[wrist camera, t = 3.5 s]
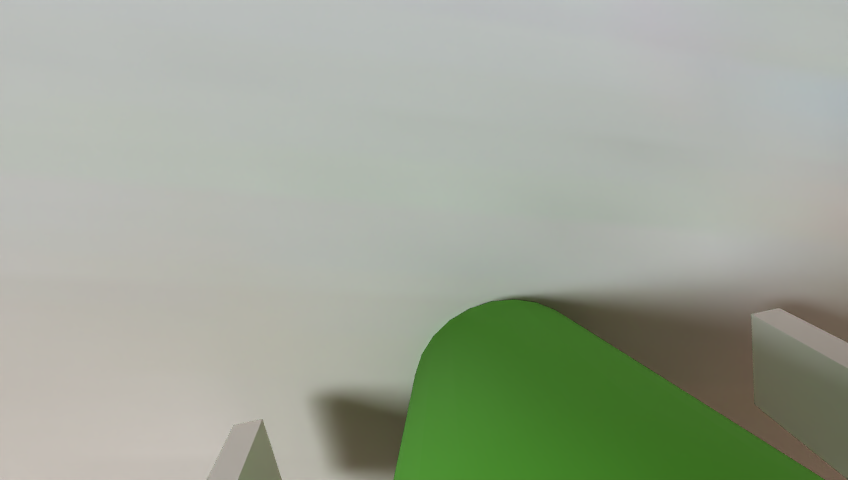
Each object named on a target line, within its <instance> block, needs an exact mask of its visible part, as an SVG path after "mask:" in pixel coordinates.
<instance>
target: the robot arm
mask: <svg viewBox="0 0 848 480" xmlns="http://www.w3.org/2000/svg"><path fill="white" fill-rule="evenodd" d="M751 322H752V350H753V378H754V404H755V405H756V406H757V407H758V408H760V409H761V410H762V411H763V412H765V413H766V414H767V415H768V416H770V417H771V418H772V419H773V420H775V421H776V422H777V423H778V424H780V425H781V426H782V427H783V428H784V429H786V430H787V431H788V432H789V433H791V434H792V435H793V436H794V437H796V438H797V439H798V440H799V441H801V442H802V443H803V444H804V445H806V446H807V447H808V448H809V449H811V450H812V451H813V452H814V453H816V454H817V455H818V456H819V457H821V458H822V459H823V460H824V461H825V462H827V463H828V464H829V465H830V466H832V467H833V468H834V469H835V470H837V471H838V472H839V473H840V474H842V475H843V476H844V477H845V478H847V479H848V343H847V342H845V341H843V340H841V339H839V338H838V337H836V336H834V335H832V334H830V333H828V332H826V331H824V330H822V329H820V328H818V327H816V326H814V325H812V324H810V323H808V322H806V321H804V320H802V319H800V318H798V317H796V316H794V315H792V314H790V313H788V312H786V311H784V310H782V309H780V308H776V309H772V310H767V311H762V312H758V313H753V314H751ZM207 480H282V479H281V476H280V473H279V469H278V466H277V463H276V460H275V457H274V454H273V451H272V448H271V444H270V441H269V438H268V435H267V432H266V429H265V426H264V423H263V419H260V420H255V421H251V422H246V423H241V424H237V425H233V427H232V429H231V431H230V433H229V435H228V437H227V439H226V441H225V443H224V445H223V447H222V449H221V451H220V454H219V456H218V458H217V460H216V462H215V464H214V466H213V468H212V470H211V472H210V474H209V476H208V478H207Z"/></svg>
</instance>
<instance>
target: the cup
mask: <svg viewBox="0 0 848 480" xmlns="http://www.w3.org/2000/svg"><path fill="white" fill-rule="evenodd" d="M394 480H824V479H823V478H821V477H820V476H818V475H817V474H815V473H813V472H812V471H810V470H809V469H807V468H805V467H804V466H802V465H801V464H799V463H797V462H796V461H794V460H793V459H791V458H790V457H788V456H786V455H785V454H783V453H782V452H780V451H778V450H777V449H775V448H774V447H772V446H770V445H769V444H767V443H766V442H764V441H763V440H761V439H759V438H758V437H756V436H755V435H753V434H751V433H750V432H748V431H747V430H745V429H743V428H742V427H740V426H739V425H737V424H736V423H734V422H732V421H731V420H729V419H728V418H726V417H724V416H723V415H721V414H720V413H718V412H717V411H715V410H713V409H712V408H710V407H709V406H707V405H705V404H704V403H702V402H701V401H699V400H697V399H696V398H694V397H693V396H691V395H690V394H688V393H686V392H685V391H683V390H682V389H680V388H678V387H677V386H675V385H674V384H672V383H670V382H669V381H667V380H666V379H664V378H663V377H661V376H659V375H658V374H656V373H655V372H653V371H651V370H650V369H648V368H647V367H645V366H643V365H642V364H640V363H639V362H637V361H636V360H634V359H632V358H631V357H629V356H628V355H626V354H624V353H623V352H621V351H620V350H618V349H616V348H615V347H613V346H612V345H610V344H609V343H607V342H605V341H604V340H602V339H601V338H599V337H597V336H596V335H594V334H593V333H591V332H590V331H588V330H586V329H585V328H583V327H582V326H580V325H578V324H577V323H575V322H574V321H572V320H570V319H569V318H567V317H566V316H564V315H563V314H561V313H559V312H558V311H556V310H554V309H551V308H549V307H546V306H544V305H541V304H539V303H536V302H529V301H522V300H515V299H513V300H502V301H491V302H488V303H485V304H482V305H479V306H476V307H473V308H470V309H468V310H466V311H465V312H463V313H461V314H460V315H458V316H456V317H455V318H453V319H451V320H450V321H449V322H448V323H447V324H446V325H444V326H443V327H442V328H441V329H440V330H439V331H438V332H437V333H436V334H435V335H434V336H433V338H432V339H431V341H430V342H429V344H428V346H427V347H426V349H425V350H424V352H423V354H422V355H421V359H420V362H419V365H418V368H417V371H416V374H415V379H414V383H413V388H412V393H411V398H410V403H409V407H408V412H407V417H406V422H405V427H404V432H403V436H402V441H401V446H400V451H399V456H398V461H397V465H396V470H395V475H394Z"/></svg>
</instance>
